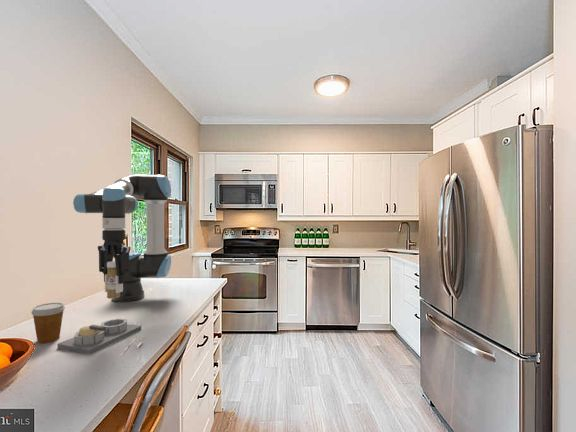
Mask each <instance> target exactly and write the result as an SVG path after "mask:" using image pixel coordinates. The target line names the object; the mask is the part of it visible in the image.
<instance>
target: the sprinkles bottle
mask: <svg viewBox="0 0 576 432" xmlns="http://www.w3.org/2000/svg"><path fill="white" fill-rule="evenodd" d="M116 274H117V269H116V263H115V260H113V261H110V262H107V292H106V298H107V299H111V300H112V299H114V298H118V297H120V293H115V275H116Z"/></svg>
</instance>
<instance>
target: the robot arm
mask: <svg viewBox="0 0 576 432" xmlns="http://www.w3.org/2000/svg"><path fill="white" fill-rule="evenodd" d="M171 195H172V186H171V182H170V180H169V178H168V177H167V176H166V175H163V174H140V173H139V174H132V175H131V174H130V175H128V176H127V175H126V176H124V177H121V178H118V179H116V180H115V181H114V183H112V184H110V185H108V186H106V187H103V188H101V189H98V190H96V191H94V192H91V193H81V194H78V193H77V194H76V195H75V196H74V198H73V203H72V204H73V209H74V211H75V212H77V213H80V214H81V213H82V214H83V213H84V214H102V227H101V228H102V229H103V230H102V231H101V232H102V234H101V235H102V236H101V237H102V238H101V239H102V240H103V241H104V242H103V244H102V245H98V246H97V252H98V271H99V273H102V274H103V281H104V293H105V292H106V293H107V262H110V261H115V263H116V269H117V274H116V275H115V293H120V297H118V298H114V299H111V300H112V301H113V302H120V303H121V302H122V303H123V302H124V303H126V302H133V301H137V300H140V299H142V298H145V290H144V287H143V286H142V285H143V284H142V279H148V278H149V279H152V278H153V279H161V278H166V277H167V276H168V275H169V272H170V269H171V266H172V256H171V255H170V254H168V251H167V250H166V249H165V204H166V203H167V202H168V199H169V198H170V197H171ZM137 197H138V198H143V199H142V201H144V202H145V204H146V249H145V250H144V252H143V255H142V253H141V252H131V246H127V245H125V243H124V241H125V239H126V230H125V229H126V215H127V214H129V215H130V214H132V213H134V212H136V211H137V210H138V207H139V202H138V200H137ZM130 252H131V253H130Z"/></svg>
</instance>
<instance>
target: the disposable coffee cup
mask: <svg viewBox="0 0 576 432" xmlns="http://www.w3.org/2000/svg"><path fill="white" fill-rule="evenodd" d="M65 308H66V306H65V305H64V303H63V302H49V303H41V304H39V305H38V304H37V305H36V306H34V307H33V308H32V310H31V313H30V314H31V315H32V318H33V324H34V329H35V333H36V334H35V336H36V342H37V343H38V344H45V343H47V344H48V343H52V342H55V341H57V340H58V339H60V336H61V329H62V322H63V316H64V310H65Z"/></svg>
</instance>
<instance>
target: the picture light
mask: <svg viewBox="0 0 576 432" xmlns="http://www.w3.org/2000/svg"><path fill="white" fill-rule="evenodd" d="M136 339H137V337H136V338H134V339H133V340H132V341H130V342H129V344H127V346H126V347H125V349H124V350H123V351H122V352H121V353H120V354H119V357H121V356H123V355H124V354H125V352H126V351H127V350H128V349H129V348H130V347H131V346H132V345H133V344H134V343H135V347H136V350H139V348H140V345H143V344H144V343H143V342H142V341H140V342H139V343H138V344H137V342H136Z"/></svg>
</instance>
